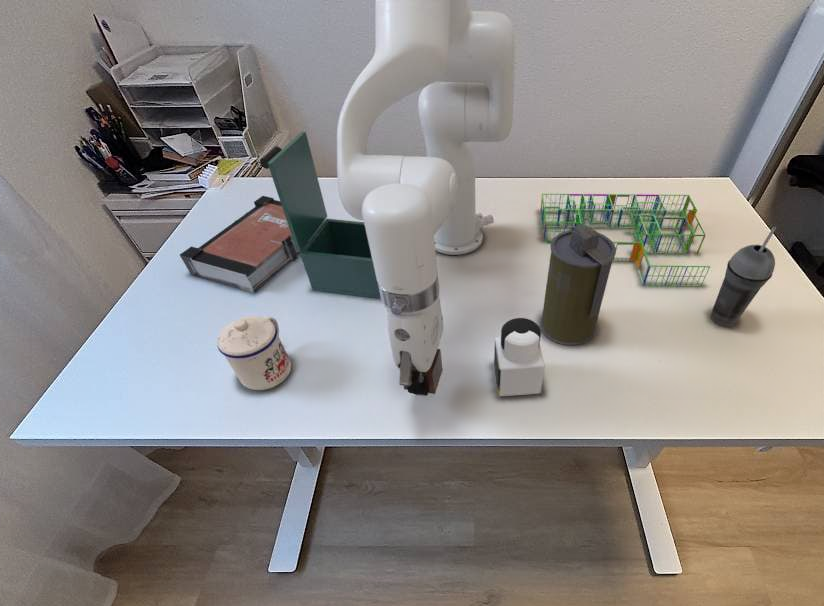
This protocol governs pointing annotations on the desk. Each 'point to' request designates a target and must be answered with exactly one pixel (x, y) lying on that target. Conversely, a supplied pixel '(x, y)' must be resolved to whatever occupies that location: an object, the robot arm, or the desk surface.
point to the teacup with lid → (255, 351)
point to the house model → (638, 247)
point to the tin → (341, 259)
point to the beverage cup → (743, 282)
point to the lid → (297, 188)
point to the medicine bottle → (519, 358)
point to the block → (432, 373)
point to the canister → (576, 284)
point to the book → (246, 249)
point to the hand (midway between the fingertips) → (423, 377)
